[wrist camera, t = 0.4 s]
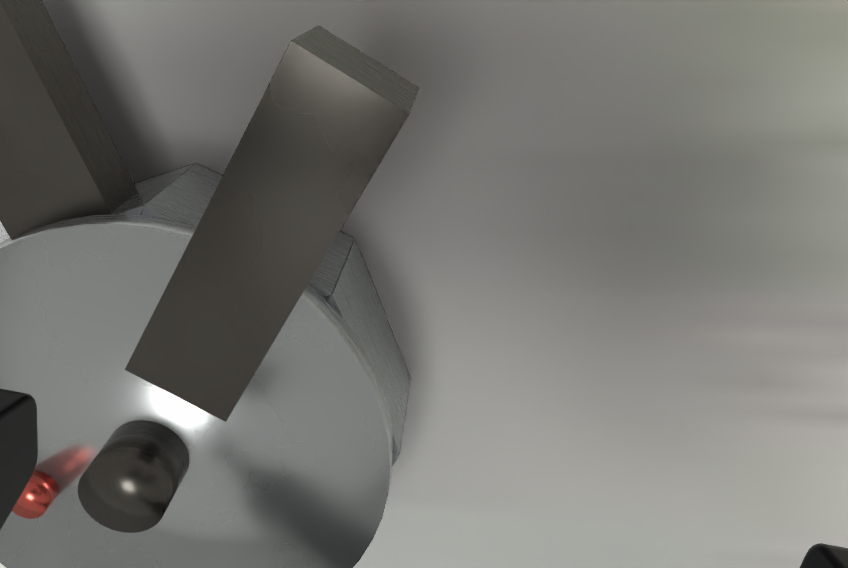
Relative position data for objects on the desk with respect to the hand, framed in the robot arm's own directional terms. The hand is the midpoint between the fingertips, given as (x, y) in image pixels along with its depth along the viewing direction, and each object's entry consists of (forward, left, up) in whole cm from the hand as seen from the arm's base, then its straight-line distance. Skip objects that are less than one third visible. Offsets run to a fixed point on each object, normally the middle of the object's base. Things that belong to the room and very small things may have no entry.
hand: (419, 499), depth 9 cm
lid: (-1, +7, -9) cm, 11 cm away
